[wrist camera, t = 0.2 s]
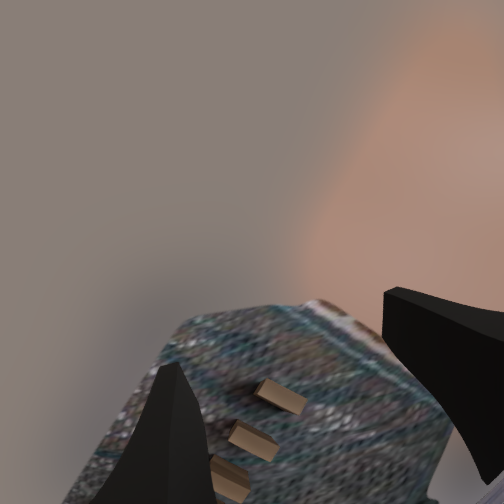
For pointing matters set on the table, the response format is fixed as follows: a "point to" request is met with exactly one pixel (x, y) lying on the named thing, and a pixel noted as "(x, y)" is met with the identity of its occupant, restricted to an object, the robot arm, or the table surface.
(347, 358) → the table surface
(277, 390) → the domino
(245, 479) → the domino
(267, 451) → the domino
